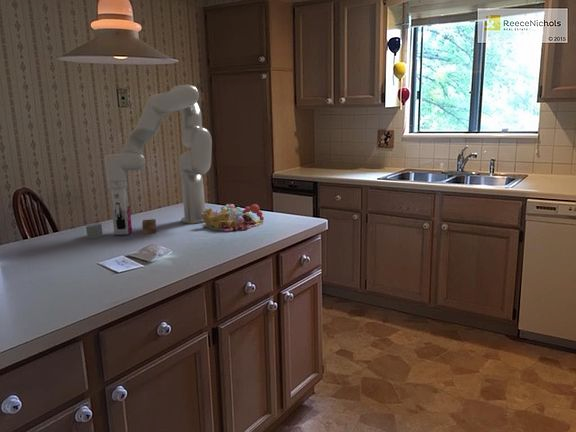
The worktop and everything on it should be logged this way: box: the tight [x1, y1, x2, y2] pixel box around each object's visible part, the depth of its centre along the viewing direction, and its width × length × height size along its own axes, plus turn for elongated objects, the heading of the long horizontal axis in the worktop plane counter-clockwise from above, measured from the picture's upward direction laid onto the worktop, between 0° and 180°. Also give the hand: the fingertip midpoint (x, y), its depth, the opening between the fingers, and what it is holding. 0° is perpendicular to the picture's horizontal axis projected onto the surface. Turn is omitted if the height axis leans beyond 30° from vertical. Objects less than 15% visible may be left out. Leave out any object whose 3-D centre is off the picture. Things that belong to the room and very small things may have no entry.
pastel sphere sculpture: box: [201, 203, 265, 232], centre depth 212 cm, size 25×24×9 cm
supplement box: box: [111, 205, 133, 237], centre depth 202 cm, size 6×6×12 cm
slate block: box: [85, 222, 103, 239], centre depth 200 cm, size 5×5×5 cm
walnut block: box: [141, 218, 157, 235], centre depth 204 cm, size 5×5×5 cm
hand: (122, 226), depth 202 cm, fingers closed on supplement box, 6 cm apart
